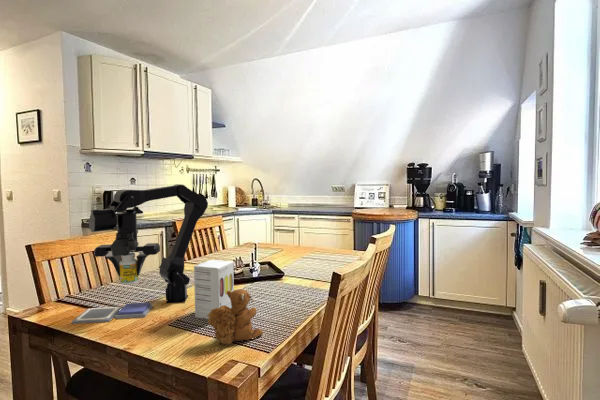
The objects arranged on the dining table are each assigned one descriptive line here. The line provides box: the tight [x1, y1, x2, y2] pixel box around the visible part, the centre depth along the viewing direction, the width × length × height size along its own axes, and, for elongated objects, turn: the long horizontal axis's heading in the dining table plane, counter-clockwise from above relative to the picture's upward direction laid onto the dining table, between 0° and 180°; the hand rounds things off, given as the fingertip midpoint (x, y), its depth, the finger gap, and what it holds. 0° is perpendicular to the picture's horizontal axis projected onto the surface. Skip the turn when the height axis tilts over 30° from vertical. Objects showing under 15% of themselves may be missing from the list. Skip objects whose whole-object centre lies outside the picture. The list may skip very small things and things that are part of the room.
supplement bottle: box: [119, 252, 139, 286], centre depth 115 cm, size 5×5×10 cm
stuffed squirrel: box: [206, 288, 264, 346], centre depth 98 cm, size 10×14×13 cm
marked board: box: [70, 306, 123, 325], centre depth 114 cm, size 11×11×1 cm
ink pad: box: [114, 302, 154, 320], centre depth 117 cm, size 9×9×2 cm
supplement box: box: [193, 259, 235, 320], centre depth 115 cm, size 10×9×17 cm
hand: (129, 275), depth 116 cm, fingers closed on supplement bottle, 5 cm apart
